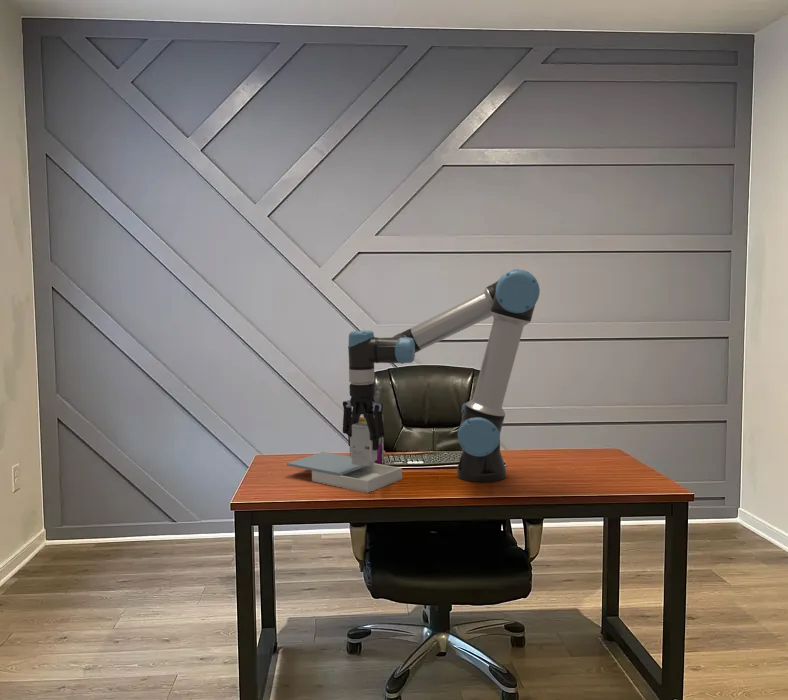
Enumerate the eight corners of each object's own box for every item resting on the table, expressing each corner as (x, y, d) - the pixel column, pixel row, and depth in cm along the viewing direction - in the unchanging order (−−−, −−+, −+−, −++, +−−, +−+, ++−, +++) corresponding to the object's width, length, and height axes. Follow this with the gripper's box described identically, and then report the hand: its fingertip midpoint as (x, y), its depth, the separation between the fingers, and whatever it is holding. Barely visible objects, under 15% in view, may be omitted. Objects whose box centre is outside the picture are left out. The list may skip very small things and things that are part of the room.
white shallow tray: (402, 479, 215) (401, 467, 215) (367, 493, 201) (367, 481, 201) (347, 469, 228) (347, 458, 228) (312, 481, 214) (311, 470, 214)
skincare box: (351, 464, 207) (350, 424, 206) (357, 461, 212) (356, 422, 210) (370, 466, 205) (369, 426, 204) (376, 462, 209) (375, 423, 208)
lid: (374, 463, 221) (374, 448, 220) (339, 475, 207) (338, 459, 207) (323, 454, 234) (322, 440, 234) (286, 465, 220) (286, 450, 220)
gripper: (396, 383, 203) (397, 460, 205) (344, 379, 215) (346, 452, 217) (380, 387, 197) (382, 466, 199) (328, 382, 209) (330, 457, 211)
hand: (363, 458), depth 208 cm, fingers closed on skincare box, 7 cm apart
